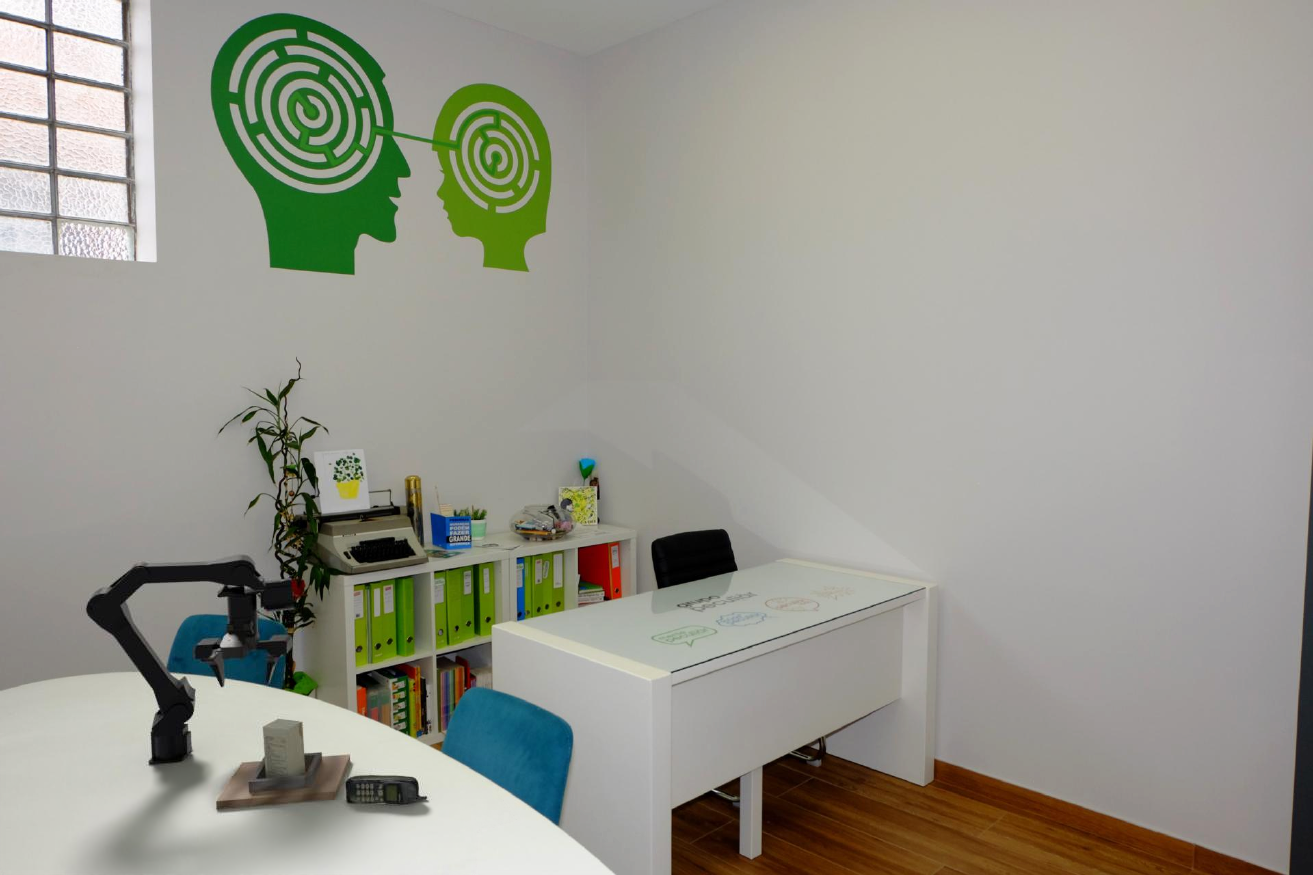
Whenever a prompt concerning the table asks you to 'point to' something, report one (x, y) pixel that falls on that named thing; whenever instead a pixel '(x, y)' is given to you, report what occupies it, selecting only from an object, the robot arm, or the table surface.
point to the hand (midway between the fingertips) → (245, 685)
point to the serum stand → (285, 783)
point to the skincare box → (284, 748)
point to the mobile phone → (382, 789)
